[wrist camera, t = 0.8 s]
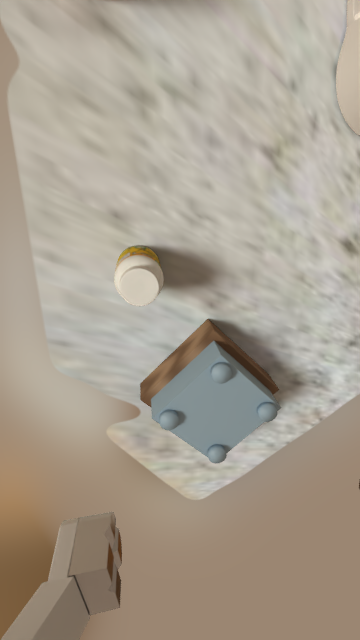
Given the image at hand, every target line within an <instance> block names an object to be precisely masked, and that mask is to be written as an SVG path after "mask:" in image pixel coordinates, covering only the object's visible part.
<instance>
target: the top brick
mask: <svg viewBox="0 0 360 640" xmlns="http://www.w3.org/2000/svg"><path fill="white" fill-rule="evenodd" d="M151 408H152V419H154V420H155V421H156V422H158V423H159V424H160V426H161V427H162V428H163V429H165V430H169V431H171V432H172V433H174V434H175V435H177V436H178V437H179V438H181V439H182V440H184V441H185V442H187V443H188V444H190V445H191V446H192V447H194V448H195V449H197V450H198V451H200V452H201V453H202V454H204V455H205V456H207V457H208V458H209V460H210V461H211V462H212V463H220V462H222V461H224V460H225V458H226V453H227V452H229V451H230V450H231V449H232V448H233V447H235V446H236V445H237V444H238V443H239V442H241V441H242V440H243V439H244V438H245V437H247V436H248V435H249V434H250V433H251V432H253V431H254V430H255V429H256V428H257V427H259V426H260V425H261V424H262V423H264V422H268V421H272V420H273V419H274V418H275V417H276V416H277V411H278V410H279V409H280V408H281V407H280V406H279V404H278V402H277V401H276V399H275V398H274V396H273V395H272V393H271V392H270V390H269V389H268V388H267V387H265V386H264V385H263V384H262V383H261V382H260V381H259V380H258V379H256V378H255V377H254V376H253V375H252V374H251V373H250V372H249V371H248V370H246V369H245V368H244V367H243V366H242V365H241V364H240V363H239V362H237V361H236V360H235V359H234V358H233V357H232V356H231V355H230V354H228V353H227V352H226V351H225V350H224V349H223V348H222V347H221V346H219V345H218V344H217V343H216V342H215V341H213V342H212V343H210V344H209V345H208V346H207V347H206V348H205V349H204V350H203V351H202V352H201V353H200V354H199V355H198V356H197V357H196V358H194V359H193V360H192V361H191V362H190V363H189V364H188V365H187V366H186V367H185V368H184V369H183V370H182V371H181V372H179V373H178V374H177V375H176V376H175V377H174V378H173V379H172V380H171V381H170V382H169V383H168V384H167V385H166V386H165V387H163V388H162V389H161V390H160V391H159V392H158V393H157V394H156V395H155V396H154V397H153V398H152V399H151Z"/></svg>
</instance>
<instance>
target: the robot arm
mask: <svg viewBox="0 0 360 640" xmlns="http://www.w3.org/2000/svg"><path fill="white" fill-rule="evenodd" d="M336 91H337V98H338V103H339V107H340V110H341V112H342V115H343V117H344V119H345V120H346V122H347V124H348V125H349V126H350V128H351V129H352V130H353V131H354V132H355V133H356V134H358V135H359V136H360V0H348V1H347V30H346V35H345V39H344V42H343V45H342V48H341V52H340V55H339V60H338V65H337V73H336ZM359 489H360V482H359ZM115 525H116V518H115V515H114V512H109V513H104V514H98V515H92V516H87V517H81V518H75V519H70V520H65V521H63V522H62V524H61V526H60V530H59V534H58V538H57V543H56V548H55V551H54V556H53V560H52V565H51V569H50V574H49V578H48V582H44V583H42V584H41V586H40V587H39V588H38V590H37V591H36V593H35V594H34V595H33V596H32V598H31V599H30V601H29V602H28V603H27V605H26V606H25V608H24V609H23V610H22V611H21V613H20V614H19V616H18V617H17V618H16V620H15V621H14V623H13V624H12V625H11V627H10V628H9V629H8V631H7V632H6V633H5V635H4V636H3V637H2V639H1V640H79V639H80V637H81V635H82V633H83V631H84V629H85V627H86V625H87V622H88V621H89V619H90V616H89V615H93V614H97V613H101V612H105V611H109V610H113V609H116V608H120V592H121V579H120V576H119V572H118V569H119V567H120V566H121V564H122V546H121V537H120V532H119V529H118V528H117V527H115Z"/></svg>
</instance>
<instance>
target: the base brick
mask: <svg viewBox="0 0 360 640" xmlns="http://www.w3.org/2000/svg"><path fill="white" fill-rule="evenodd" d="M213 341H215V342H216V343H217V344H218V345H219V346H221V347H222V348H223V349H224V350H225V351H226V352H227V353H228V354H230V355H231V356H232V357H233V358H234V359H235V360H236V361H237V362H239V363H240V364H241V365H242V366H243V367H244V368H245V369H246V370H248V371H249V372H250V373H251V374H252V375H253V376H254V377H255V378H256V379H258V380H259V381H260V382H261V383H262V384H263V385H264V386H265V387H267V388H268V389H269V390H270V392H271V393H272V395H273V394H274V393H276V392H277V391H278V390H279V389H278V387H277V386H276V384H275V383H274V381H273V380H272V379H271V377H270V376H269V374H268V373H266V372H265V371H264V370H263V369H262V368H261V367H260V366H259V365H258V364H257V363H256V362H255V361H253V360H252V359H251V358H250V357H249V356H248V355H247V354H246V353H245V352H244V351H243V350H241V349H240V348H239V347H238V346H237V345H236V344H235V343H234V342H233V341H232V340H231V339H229V338H228V337H227V336H226V335H225V334H224V333H223V332H222V331H221V330H220V329H219V328H218V327H216V326H215V325H214V324H213V323H212V322H211V321H210V320H209V319H207V320H206V321H205V322H204V323H203V324H202V325H201V326H200V327H199V328H198V329H197V330H196V331H195V332H194V333H193V334H192V335H191V336H189V337H188V338H187V339H186V340H185V341H184V342H183V343H182V344H181V345H180V346H179V347H178V348H177V349H176V350H175V351H174V352H173V353H172V354H171V355H170V356H169V357H168V358H167V359H166V360H164V361H163V362H162V363H161V364H160V365H159V366H158V367H157V368H156V369H155V370H154V371H153V372H152V373H151V374H150V375H149V376H148V377H147V378H146V379H145V380H144V381H143V382H142V383H141V384H140V387H141V401H143V402H144V403H146V404H147V405H148V406H150V407H151V399H152V398H153V397H154V396H155V395H156V394H157V393H158V392H159V391H160V390H161V389H162V388H163V387H165V386H166V385H167V384H168V383H169V382H170V381H171V380H172V379H173V378H174V377H175V376H176V375H177V374H178V373H179V372H181V371H182V370H183V369H184V368H185V367H186V366H187V365H188V364H189V363H190V362H191V361H192V360H193V359H194V358H196V357H197V356H198V355H199V354H200V353H201V352H202V351H203V350H204V349H205V348H206V347H207V346H208V345H209V344H210V343H212V342H213Z"/></svg>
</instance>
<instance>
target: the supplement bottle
mask: <svg viewBox="0 0 360 640" xmlns="http://www.w3.org/2000/svg"><path fill="white" fill-rule="evenodd" d="M163 282H164V277H163V272H162V269H161V266H160V262H159V259H158V257H157V255H156V254H155V253H154V252H153V251H152V250H151V249H149V248H148V247H145V246H131V247H128V248H127V249H125V250H124V251H123V252H122V253H121V255H120V256H119V259H118V261H117V266H116V270H115V275H114V283H115V287H116V289H117V291H118V293H119V294H120V295H121V296H122V297H123V298H124V300H125V301H127V302H128V303H129V304H131V305H135V306H145V305H147V304H150V303H151V302H152V301H154V300H155V298H156V297H157V295H158V294H159V293H160V291H161V289H162V287H163Z"/></svg>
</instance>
